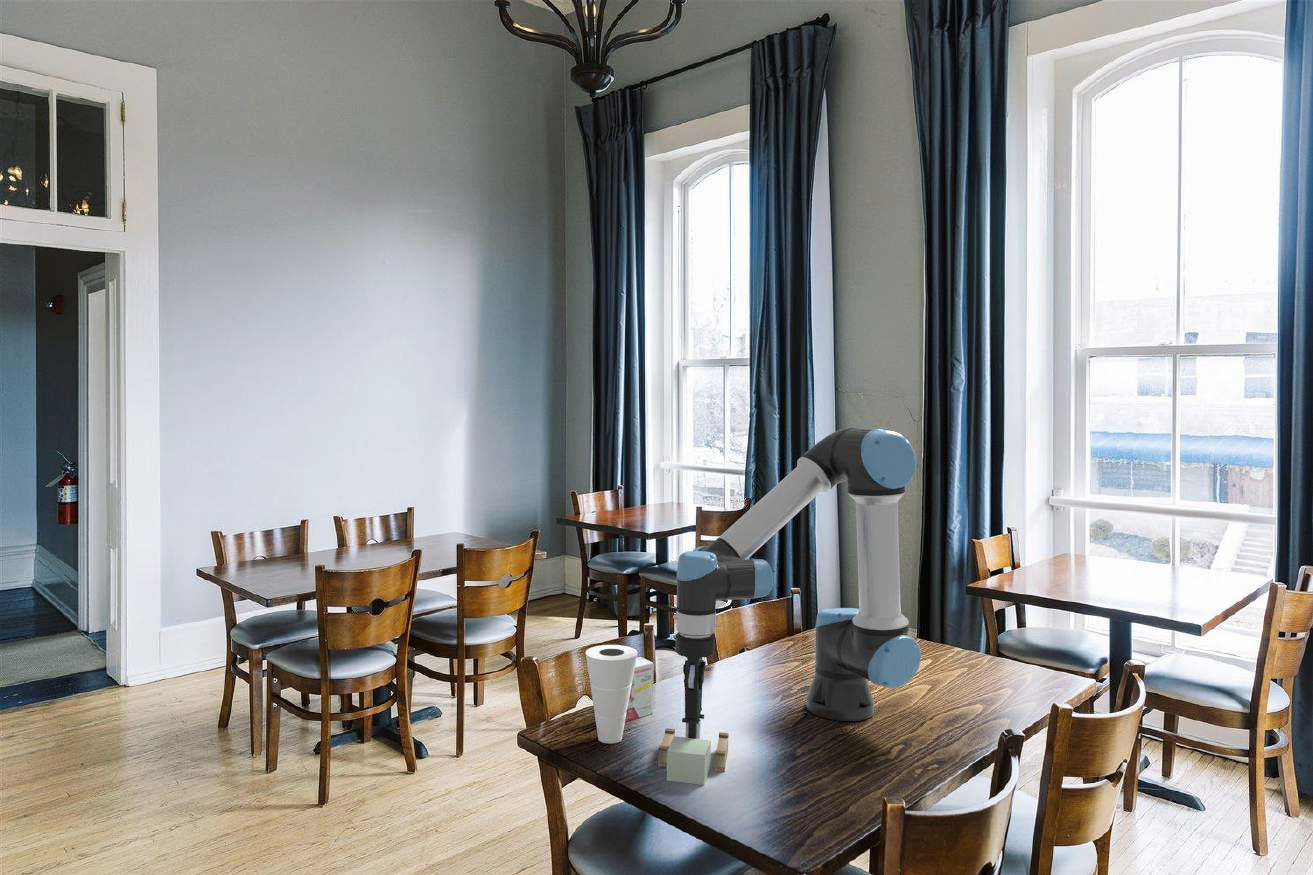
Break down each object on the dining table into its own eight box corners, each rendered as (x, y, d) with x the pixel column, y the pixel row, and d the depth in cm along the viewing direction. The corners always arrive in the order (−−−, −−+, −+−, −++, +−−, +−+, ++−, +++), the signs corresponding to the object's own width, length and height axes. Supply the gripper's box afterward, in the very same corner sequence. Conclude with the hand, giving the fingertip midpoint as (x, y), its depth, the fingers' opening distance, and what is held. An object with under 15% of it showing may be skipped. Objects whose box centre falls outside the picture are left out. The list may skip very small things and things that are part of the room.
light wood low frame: (728, 750, 168) (728, 733, 168) (724, 771, 159) (725, 753, 158) (665, 745, 170) (665, 728, 170) (658, 766, 160) (658, 747, 160)
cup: (577, 732, 176) (578, 647, 175) (624, 725, 180) (626, 642, 179) (593, 752, 166) (595, 662, 165) (643, 744, 170) (645, 657, 170)
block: (710, 768, 160) (710, 740, 160) (704, 784, 153) (704, 755, 153) (673, 764, 161) (674, 736, 161) (666, 780, 154) (667, 750, 154)
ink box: (623, 722, 182) (624, 668, 182) (609, 715, 186) (610, 663, 185) (653, 714, 187) (654, 661, 187) (640, 707, 191) (641, 656, 191)
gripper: (680, 623, 168) (677, 739, 169) (671, 640, 156) (668, 766, 157) (717, 625, 167) (714, 742, 168) (711, 643, 154) (708, 769, 155)
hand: (692, 753), depth 162 cm, fingers closed
